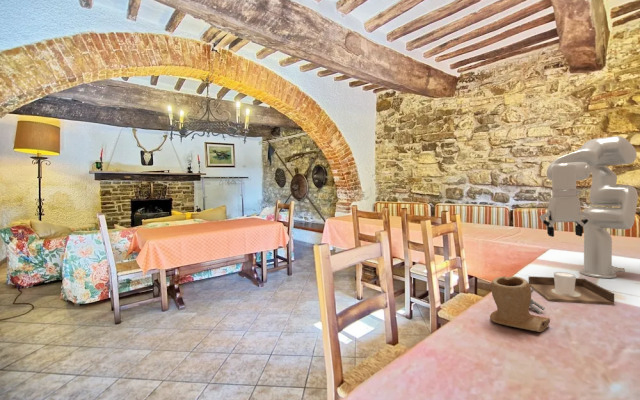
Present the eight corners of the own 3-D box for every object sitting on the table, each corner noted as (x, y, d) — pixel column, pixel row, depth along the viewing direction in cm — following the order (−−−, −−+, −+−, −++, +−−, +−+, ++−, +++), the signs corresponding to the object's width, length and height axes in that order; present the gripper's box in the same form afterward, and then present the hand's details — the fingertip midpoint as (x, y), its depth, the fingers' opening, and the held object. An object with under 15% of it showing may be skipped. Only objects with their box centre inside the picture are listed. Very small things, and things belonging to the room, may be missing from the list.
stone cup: (485, 326, 94) (484, 278, 93) (494, 313, 103) (494, 270, 102) (545, 341, 84) (545, 288, 83) (550, 326, 92) (550, 278, 92)
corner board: (584, 288, 124) (584, 278, 124) (614, 304, 106) (614, 293, 106) (528, 285, 129) (528, 276, 129) (548, 301, 112) (548, 290, 112)
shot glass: (567, 289, 120) (567, 271, 120) (580, 295, 114) (580, 276, 113) (549, 289, 121) (549, 271, 121) (561, 295, 114) (561, 277, 114)
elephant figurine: (530, 317, 100) (505, 299, 107) (533, 325, 103) (509, 307, 110) (552, 296, 100) (526, 280, 108) (554, 305, 103) (528, 289, 111)
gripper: (583, 192, 123) (584, 233, 124) (535, 194, 127) (536, 234, 128) (595, 193, 116) (596, 237, 117) (543, 195, 120) (544, 238, 121)
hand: (564, 235), depth 123 cm, fingers open, 9 cm apart
